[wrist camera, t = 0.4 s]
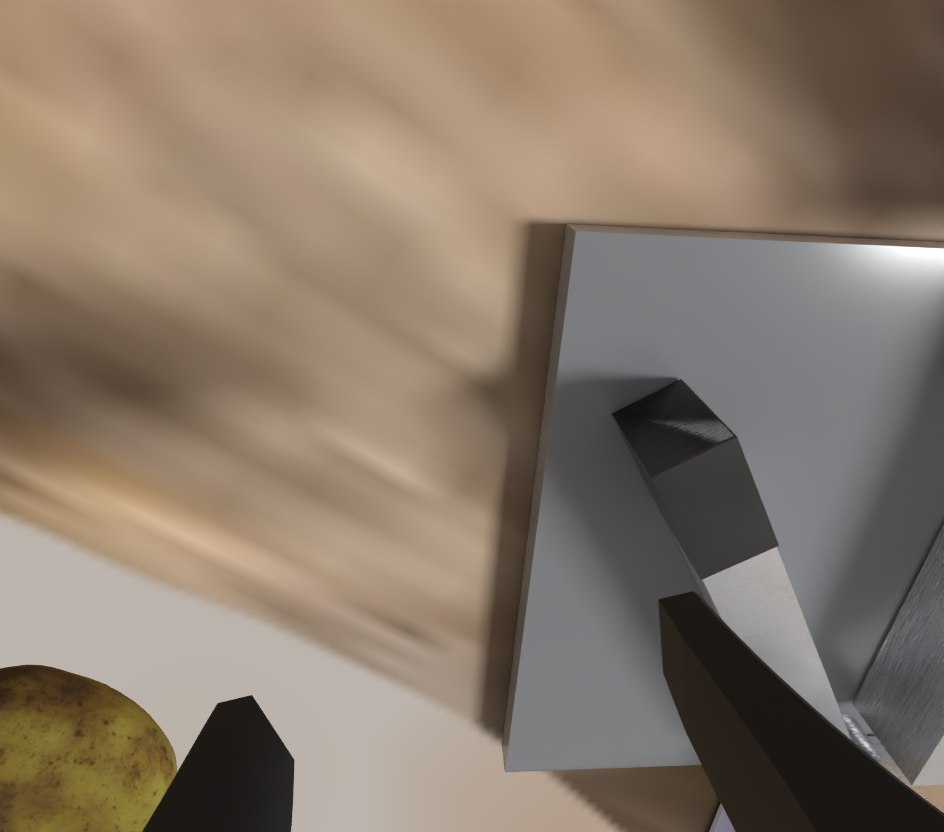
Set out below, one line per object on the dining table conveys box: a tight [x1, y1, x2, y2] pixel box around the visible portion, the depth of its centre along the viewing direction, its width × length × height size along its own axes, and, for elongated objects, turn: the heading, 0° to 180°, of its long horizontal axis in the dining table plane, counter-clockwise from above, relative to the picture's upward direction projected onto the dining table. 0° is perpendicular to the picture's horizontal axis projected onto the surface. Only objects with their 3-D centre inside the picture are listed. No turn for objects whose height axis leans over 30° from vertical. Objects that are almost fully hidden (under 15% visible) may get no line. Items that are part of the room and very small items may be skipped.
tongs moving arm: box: [612, 379, 851, 739], centre depth 20 cm, size 18×2×4 cm, turn 29°
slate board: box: [502, 224, 944, 772], centre depth 22 cm, size 23×19×1 cm
